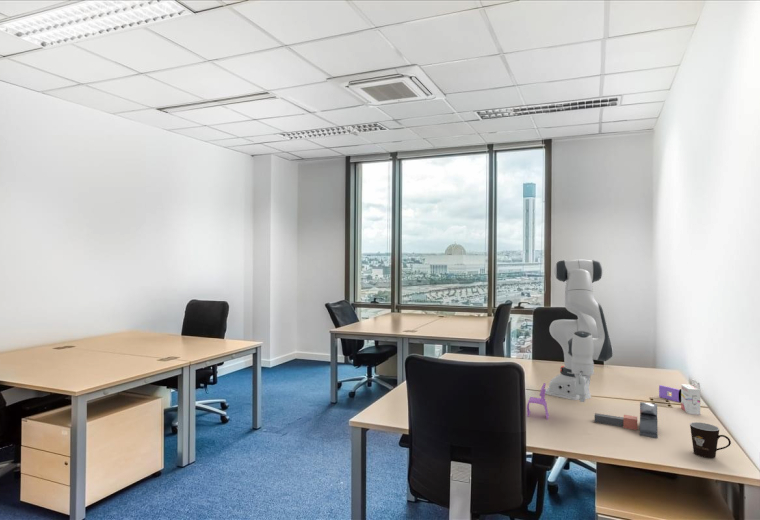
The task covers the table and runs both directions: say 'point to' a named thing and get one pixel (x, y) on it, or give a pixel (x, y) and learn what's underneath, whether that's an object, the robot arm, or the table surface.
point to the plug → (617, 420)
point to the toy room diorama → (673, 396)
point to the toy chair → (539, 401)
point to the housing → (648, 420)
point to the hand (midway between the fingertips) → (582, 401)
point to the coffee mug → (705, 439)
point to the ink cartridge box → (691, 398)
